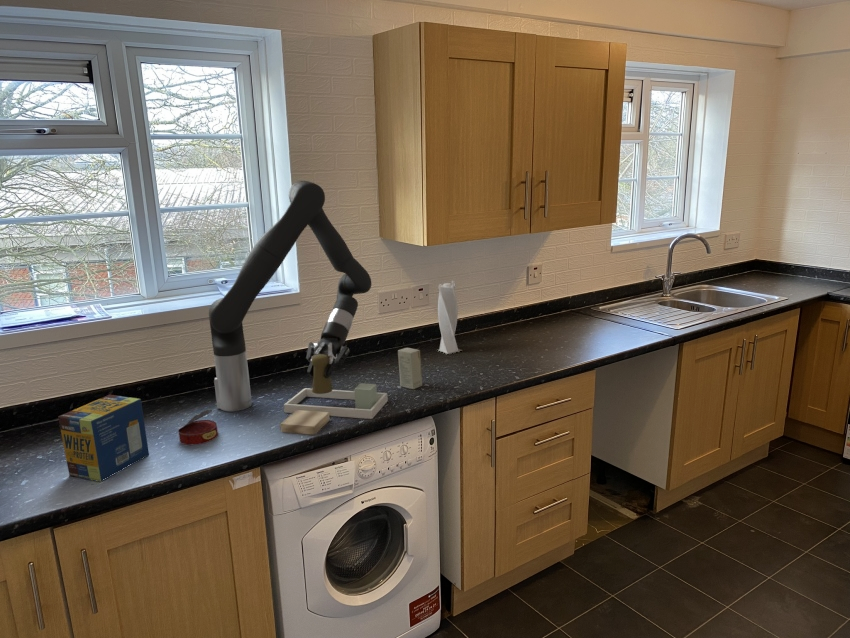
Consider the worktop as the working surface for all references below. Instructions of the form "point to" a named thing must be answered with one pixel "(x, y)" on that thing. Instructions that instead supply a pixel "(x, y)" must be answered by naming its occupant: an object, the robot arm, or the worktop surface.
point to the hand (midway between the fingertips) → (317, 375)
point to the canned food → (198, 430)
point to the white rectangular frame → (335, 411)
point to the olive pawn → (320, 375)
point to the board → (305, 422)
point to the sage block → (365, 396)
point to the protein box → (103, 436)
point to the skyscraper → (447, 318)
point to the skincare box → (410, 368)
